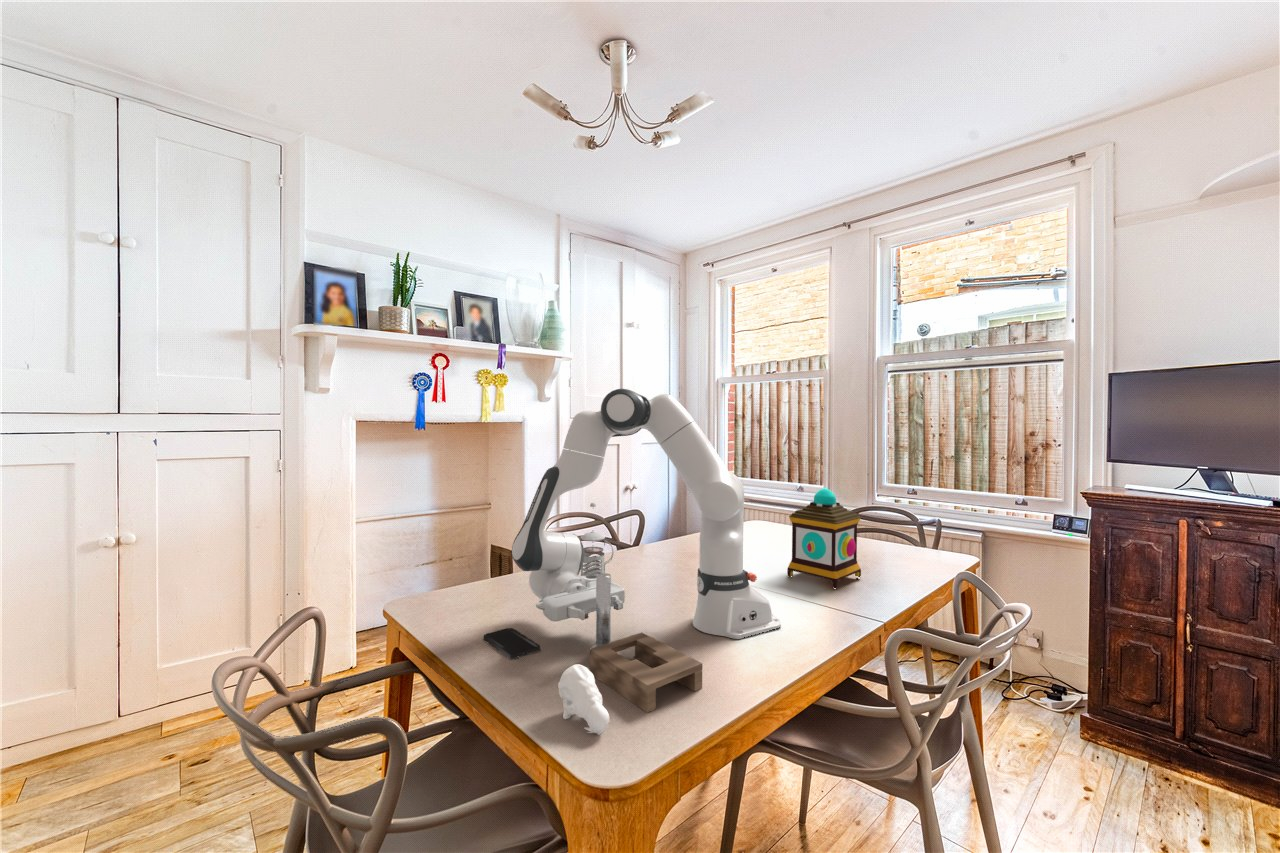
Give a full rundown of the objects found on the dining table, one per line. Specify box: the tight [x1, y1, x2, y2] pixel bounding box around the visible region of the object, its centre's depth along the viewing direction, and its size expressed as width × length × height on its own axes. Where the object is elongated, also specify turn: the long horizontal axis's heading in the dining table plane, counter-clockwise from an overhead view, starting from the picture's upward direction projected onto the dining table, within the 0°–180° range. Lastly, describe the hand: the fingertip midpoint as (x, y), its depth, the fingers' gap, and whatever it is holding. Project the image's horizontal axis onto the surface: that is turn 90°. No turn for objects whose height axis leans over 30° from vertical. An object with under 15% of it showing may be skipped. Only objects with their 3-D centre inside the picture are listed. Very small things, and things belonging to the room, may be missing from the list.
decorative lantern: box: [786, 487, 862, 589], centre depth 177 cm, size 20×20×30 cm
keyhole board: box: [588, 632, 703, 713], centre depth 109 cm, size 19×14×5 cm
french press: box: [580, 502, 614, 576], centre depth 176 cm, size 10×12×25 cm
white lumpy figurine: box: [557, 663, 610, 736], centre depth 94 cm, size 6×8×12 cm
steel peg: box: [590, 572, 612, 649], centre depth 120 cm, size 6×6×18 cm
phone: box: [483, 627, 541, 660], centre depth 125 cm, size 8×1×15 cm
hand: (603, 610), depth 120 cm, fingers open, 8 cm apart
